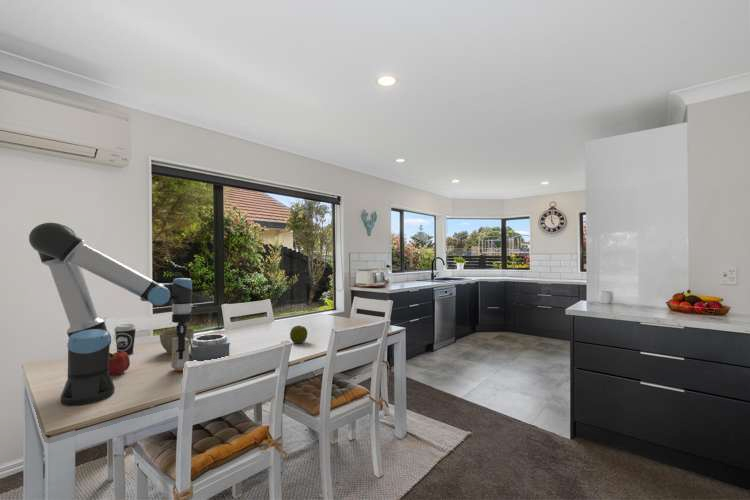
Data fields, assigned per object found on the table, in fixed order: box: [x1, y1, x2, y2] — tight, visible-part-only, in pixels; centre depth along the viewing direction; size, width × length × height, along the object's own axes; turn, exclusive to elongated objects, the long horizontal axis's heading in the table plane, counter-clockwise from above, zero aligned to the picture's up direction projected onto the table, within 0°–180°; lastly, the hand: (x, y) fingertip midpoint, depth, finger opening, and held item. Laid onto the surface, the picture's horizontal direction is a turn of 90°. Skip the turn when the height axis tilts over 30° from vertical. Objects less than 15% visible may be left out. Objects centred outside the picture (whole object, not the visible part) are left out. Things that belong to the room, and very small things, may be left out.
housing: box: [189, 333, 231, 361], centre depth 176 cm, size 21×17×10 cm
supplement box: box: [170, 337, 190, 372], centre depth 155 cm, size 8×5×13 cm, turn 47°
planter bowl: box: [158, 327, 195, 355], centre depth 184 cm, size 16×16×11 cm
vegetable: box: [109, 351, 131, 376], centre depth 150 cm, size 11×10×10 cm
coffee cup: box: [113, 323, 137, 356], centre depth 179 cm, size 10×10×15 cm
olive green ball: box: [289, 325, 308, 344], centre depth 204 cm, size 10×10×11 cm
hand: (180, 363), depth 155 cm, fingers closed on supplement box, 9 cm apart
